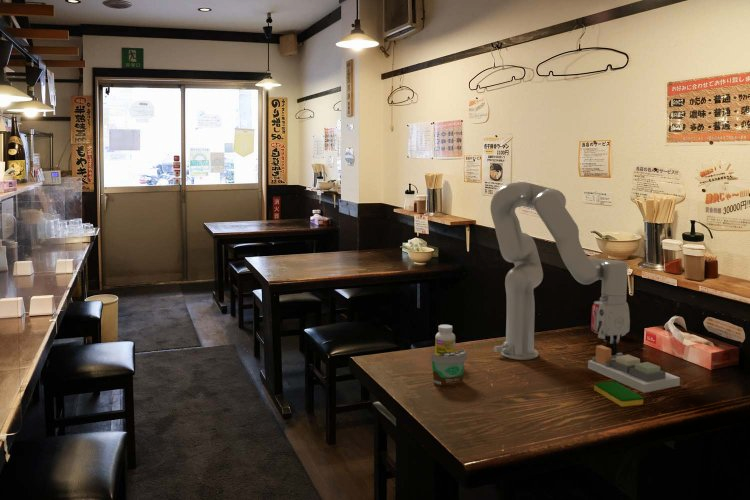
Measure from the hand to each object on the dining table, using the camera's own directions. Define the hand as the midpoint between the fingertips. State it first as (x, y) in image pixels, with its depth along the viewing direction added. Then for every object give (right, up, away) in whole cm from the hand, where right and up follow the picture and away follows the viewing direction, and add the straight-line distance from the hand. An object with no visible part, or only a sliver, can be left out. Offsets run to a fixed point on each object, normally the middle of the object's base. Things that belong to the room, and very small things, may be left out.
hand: (611, 354), depth 210 cm
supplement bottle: (-53, -5, +9) cm, 54 cm away
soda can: (+11, +1, +43) cm, 45 cm away
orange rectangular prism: (-3, -3, -1) cm, 4 cm away
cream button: (+3, -2, -6) cm, 7 cm away
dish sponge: (-6, -9, -22) cm, 25 cm away
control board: (+4, -6, -6) cm, 10 cm away
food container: (-53, -8, -12) cm, 55 cm away
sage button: (+6, -3, -13) cm, 15 cm away
